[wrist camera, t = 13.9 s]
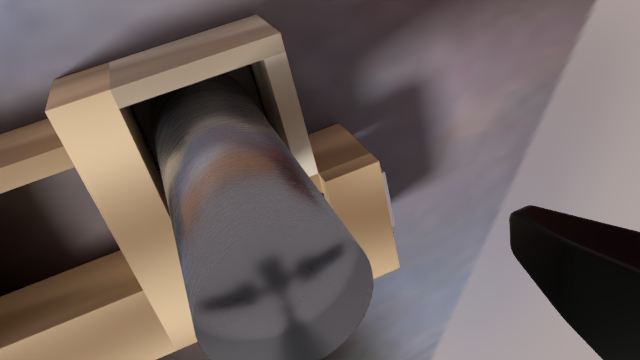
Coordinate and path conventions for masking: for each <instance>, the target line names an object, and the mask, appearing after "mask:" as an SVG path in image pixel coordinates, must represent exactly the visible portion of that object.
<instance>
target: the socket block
mask: <svg viewBox="0 0 640 360" xmlns="http://www.w3.org/2000/svg"><path fill="white" fill-rule="evenodd" d="M45 113H46V115H47V117H48V118H47V119H44V120H41V121H38V122H35V123H33V124H30V125H27V126H24V127H21V128H18V129H15V130H12V131H9V132H6V133H3V134H0V194H1V193H3V192H6V191H9V190H12V189H15V188H17V187H20V186H23V185H26V184H29V183H31V182H34V181H37V180H40V179H43V178H45V177H48V176H51V175H54V174H57V173H59V172H62V171H65V170H68V169H71V168H73V167H75V168H76V169H77V171H78V173H79V175H80V177H81V178H82V180H83V182H84V184H85V186H86V188H87V189H88V191H89V193H90V195H91V197H92V198H93V200H94V202H95V204H96V206H97V207H98V209H99V211H100V213H101V215H102V217H103V218H104V220H105V222H106V224H107V226H108V227H109V229H110V231H111V233H112V235H113V237H114V238H115V240H116V242H117V244H118V246H119V247H120V249H121V250H119V251H116V252H114V253H111V254H109V255H106V256H104V257H101V258H99V259H96V260H93V261H91V262H88V263H86V264H83V265H81V266H78V267H75V268H73V269H70V270H68V271H65V272H63V273H60V274H58V275H55V276H52V277H50V278H47V279H45V280H42V281H40V282H37V283H34V284H32V285H29V286H27V287H24V288H22V289H19V290H17V291H14V292H11V293H9V294H6V295H4V296H1V297H0V360H156V359H158V358H161V357H163V356H165V355H168V354H170V353H172V352H174V351H177V350H179V349H181V348H184V347H186V346H188V345H191V344H193V343H195V342H198V341H197V338H196V336H195V331H194V326H193V322H192V317H191V312H190V308H189V303H188V298H187V294H186V289H185V284H184V279H183V275H182V270H181V265H180V261H179V256H178V251H177V246H176V242H175V237H174V232H173V228H172V223H171V218H170V213H169V209H168V204H167V199H166V195H165V190H164V185H163V181H162V177H161V175H160V173H159V170H158V168H157V166H156V164H155V162H154V159H153V157H152V155H151V153H150V151H149V148H148V146H147V144H146V142H145V140H144V137H143V135H142V133H141V131H140V129H139V126H138V124H137V122H136V120H135V118H134V116H133V113H132V111H131V109H130V107H129V106H126V107H123V108H120V109H119V108H118V106H117V104H116V102H115V100H114V97H113V95H112V93H111V91H110V75H109V62H108V63H105V64H102V65H99V66H96V67H93V68H90V69H87V70H83V71H80V72H77V73H74V74H71V75H68V76H65V77H62V78H59V79H56V80H53V84H52V87H51V91H50V94H49V98H48V101H47V105H46V108H45ZM308 137H309V141H310V144H311V148H312V152H313V156H314V159H315V163H316V167H317V171H318V174H315V175H313V176H310V179H311V180H312V182H313V183H314V184H315V186H316V187H317V188H318V190H319V191H320V192H321V193H324V197H325V199H326V201H327V202H328V203H329V205H330V206H331V207H332V209H333V210H334V211H335V213H336V214H337V215H338V217H339V218H340V220H341V221H342V222H343V224H344V225H345V226H346V228H347V229H348V230H349V232H350V233H351V235H352V236H353V237H354V239H355V240H356V241H357V243H358V244H359V245H360V247H361V248H362V249H363V251H364V252H365V254H366V256H367V258H368V259H369V262H370V265H371V268H372V273H373V279H375V278H377V277H379V276H382V275H384V274H386V273H389V272H391V271H393V270H395V269H398V268H400V266H399V261H398V256H397V251H396V245H395V240H394V235H393V230H392V225H391V220H390V215H389V209H388V204H387V199H386V194H385V189H384V184H383V179H382V173H381V168H380V163H379V161H378V160H377V159H376V158H375V157H374V156H373V155H372V154H371V153H370V152H369V151H368V150H367V149H366V148H365V147H364V146H363V145H362V144H361V143H360V142H359V141H358V140H357V139H355V138H354V137H353V136H352V135H351V134H350V133H349V132H348V131H347V130H346V129H345V128H344V127H343V126H342V125H341V124H340V123H338V124H335V125H333V126H330V127H327V128H325V129H322V130H319V131H317V132H314V133H311V134H309V135H308Z"/></svg>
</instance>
